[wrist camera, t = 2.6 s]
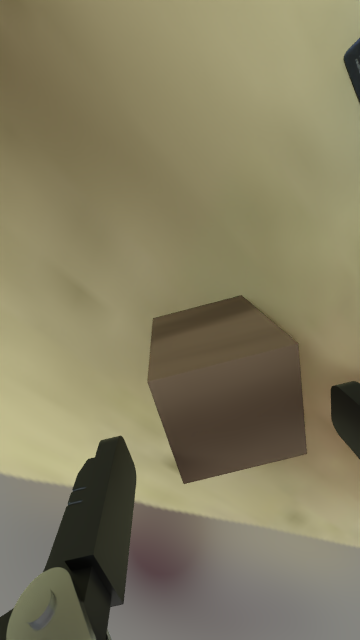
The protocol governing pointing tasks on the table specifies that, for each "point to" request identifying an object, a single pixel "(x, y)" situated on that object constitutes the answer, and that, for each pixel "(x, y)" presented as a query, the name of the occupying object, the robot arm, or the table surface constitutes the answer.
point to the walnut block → (226, 388)
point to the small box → (354, 65)
